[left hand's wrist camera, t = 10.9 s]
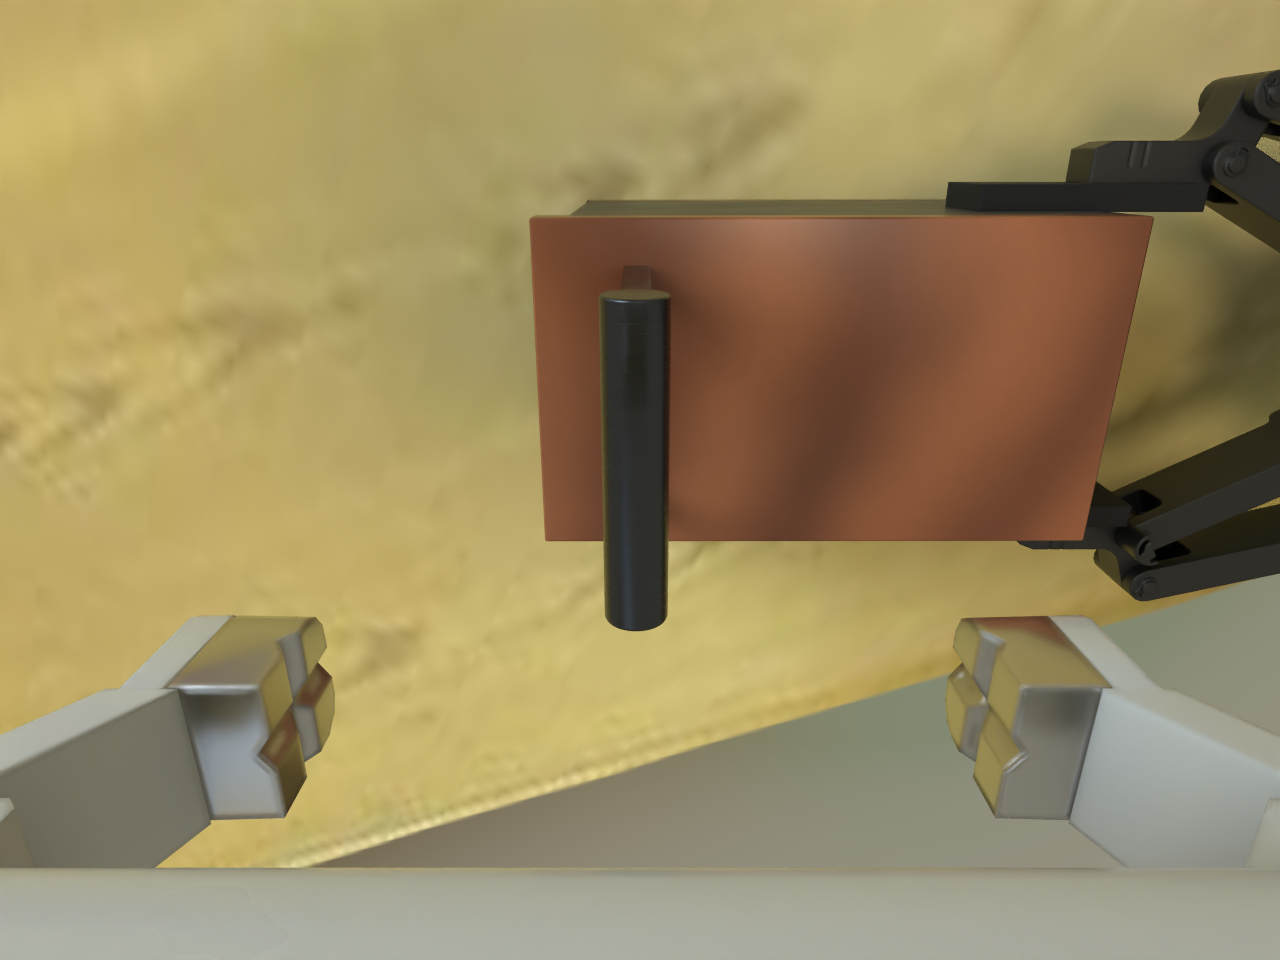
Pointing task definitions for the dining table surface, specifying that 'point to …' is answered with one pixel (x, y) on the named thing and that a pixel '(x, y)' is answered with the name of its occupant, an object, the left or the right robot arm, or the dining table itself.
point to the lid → (822, 379)
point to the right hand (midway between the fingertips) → (940, 359)
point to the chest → (795, 208)
